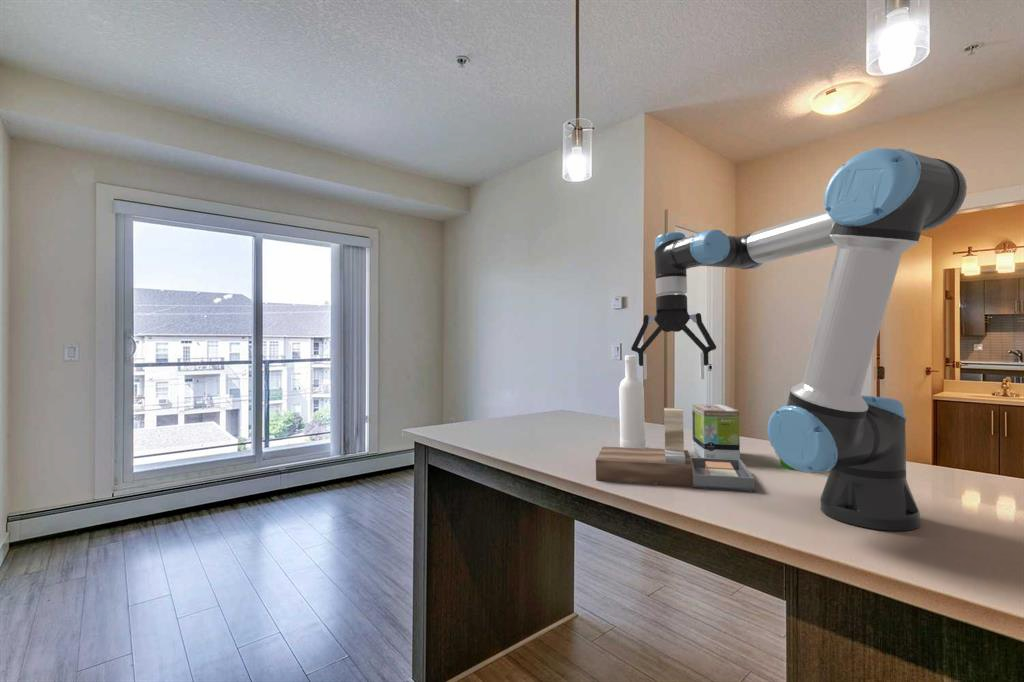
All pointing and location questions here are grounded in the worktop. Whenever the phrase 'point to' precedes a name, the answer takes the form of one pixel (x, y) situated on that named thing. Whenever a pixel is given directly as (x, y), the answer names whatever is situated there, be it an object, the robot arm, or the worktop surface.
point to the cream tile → (722, 472)
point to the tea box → (716, 431)
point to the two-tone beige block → (674, 436)
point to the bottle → (631, 407)
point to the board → (641, 466)
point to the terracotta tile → (718, 466)
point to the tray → (722, 482)
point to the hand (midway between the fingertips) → (673, 379)
